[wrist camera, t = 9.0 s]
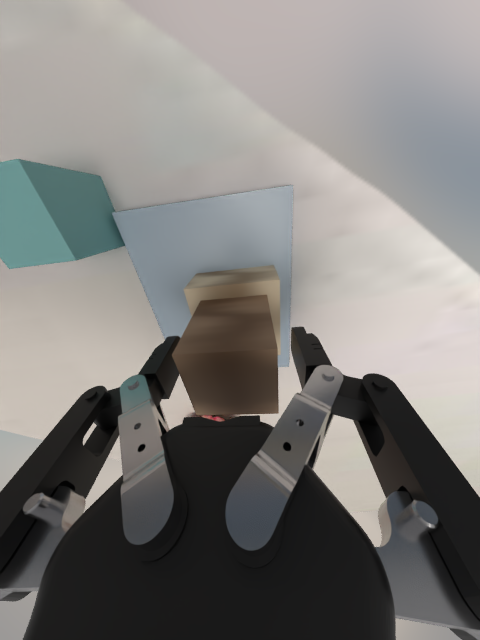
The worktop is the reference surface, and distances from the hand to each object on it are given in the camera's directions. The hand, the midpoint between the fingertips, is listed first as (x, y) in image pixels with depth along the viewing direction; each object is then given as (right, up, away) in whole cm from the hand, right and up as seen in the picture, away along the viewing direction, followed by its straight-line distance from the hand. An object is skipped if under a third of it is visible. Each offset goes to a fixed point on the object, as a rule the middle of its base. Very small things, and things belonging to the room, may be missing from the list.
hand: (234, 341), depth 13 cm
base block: (0, +3, +5) cm, 6 cm away
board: (-2, +4, +6) cm, 7 cm away
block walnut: (0, +1, +2) cm, 2 cm away
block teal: (-13, +10, +3) cm, 17 cm away
